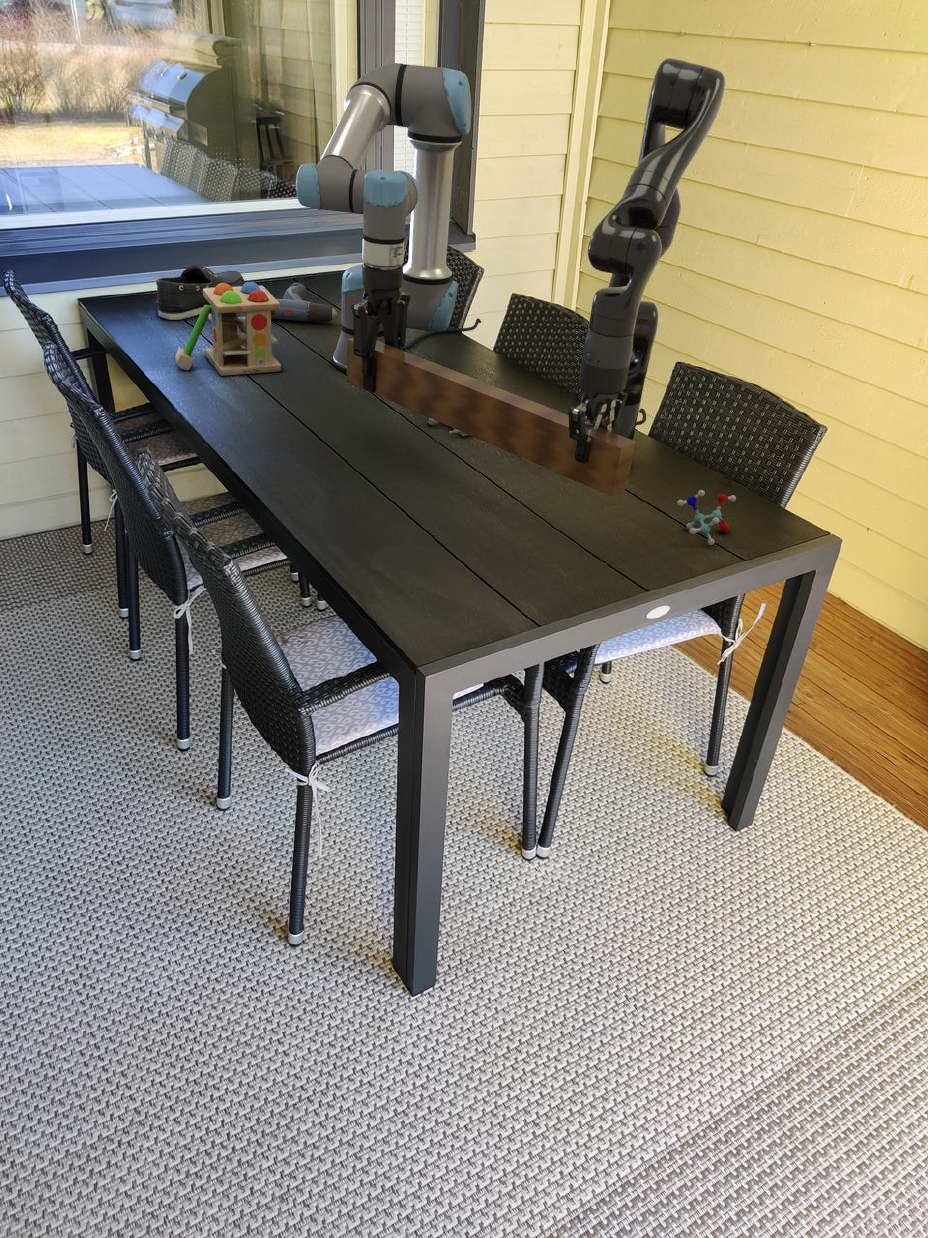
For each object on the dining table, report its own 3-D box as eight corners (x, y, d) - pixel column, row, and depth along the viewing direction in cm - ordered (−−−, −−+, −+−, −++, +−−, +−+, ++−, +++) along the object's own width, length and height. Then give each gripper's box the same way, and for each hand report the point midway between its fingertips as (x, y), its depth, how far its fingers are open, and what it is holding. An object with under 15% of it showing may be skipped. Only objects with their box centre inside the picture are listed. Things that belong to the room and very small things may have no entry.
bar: (346, 382, 193) (346, 338, 189) (361, 377, 196) (362, 334, 191) (612, 496, 161) (621, 448, 156) (626, 489, 164) (635, 441, 159)
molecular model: (741, 539, 172) (725, 484, 171) (688, 553, 176) (672, 500, 174) (745, 528, 183) (730, 477, 181) (695, 542, 186) (680, 492, 185)
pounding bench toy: (183, 379, 220) (176, 299, 210) (169, 357, 231) (162, 280, 221) (282, 371, 230) (280, 294, 220) (264, 350, 240) (262, 276, 230)
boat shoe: (264, 299, 275) (261, 260, 270) (175, 322, 251) (171, 280, 246) (230, 290, 281) (227, 253, 275) (140, 312, 257) (136, 271, 251)
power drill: (344, 304, 276) (335, 327, 259) (277, 298, 275) (264, 321, 258) (344, 285, 273) (335, 306, 256) (277, 279, 272) (264, 300, 255)
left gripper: (363, 276, 170) (359, 403, 183) (430, 261, 182) (422, 382, 195) (333, 266, 174) (332, 391, 187) (400, 252, 185) (395, 371, 199)
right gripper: (600, 375, 147) (583, 477, 157) (650, 355, 157) (631, 453, 166) (560, 360, 151) (546, 461, 161) (611, 342, 160) (595, 438, 170)
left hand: (378, 386), depth 191 cm, fingers closed on bar, 4 cm apart
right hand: (589, 456), depth 164 cm, fingers closed on bar, 4 cm apart
